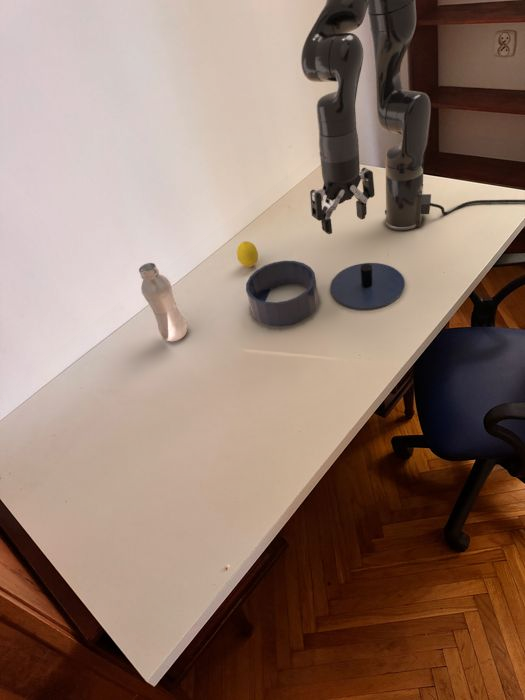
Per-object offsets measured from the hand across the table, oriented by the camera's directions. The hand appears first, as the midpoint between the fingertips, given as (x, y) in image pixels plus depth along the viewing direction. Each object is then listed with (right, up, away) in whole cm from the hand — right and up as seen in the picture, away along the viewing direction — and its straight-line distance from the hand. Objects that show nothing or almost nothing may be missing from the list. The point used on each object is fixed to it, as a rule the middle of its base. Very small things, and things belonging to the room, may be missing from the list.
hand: (344, 225), depth 104 cm
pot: (-13, -17, +11) cm, 23 cm away
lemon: (-21, -5, +25) cm, 33 cm away
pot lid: (+7, -12, +9) cm, 17 cm away
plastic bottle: (-39, -24, +11) cm, 47 cm away
